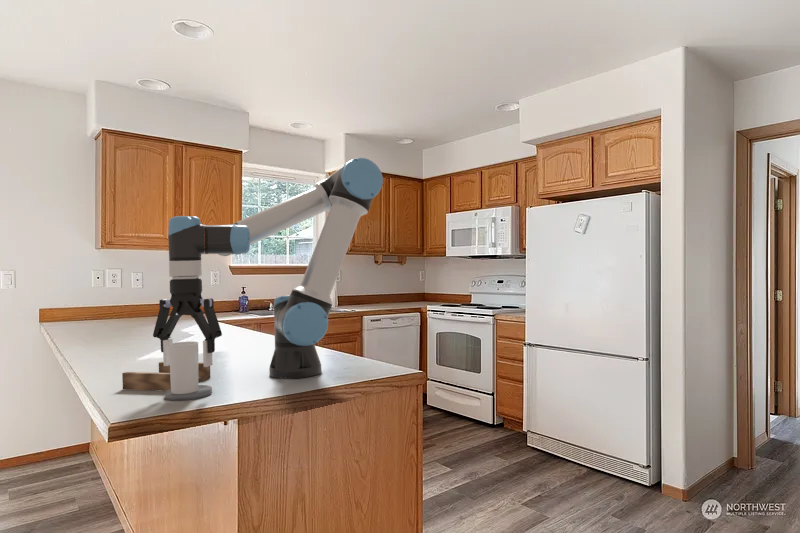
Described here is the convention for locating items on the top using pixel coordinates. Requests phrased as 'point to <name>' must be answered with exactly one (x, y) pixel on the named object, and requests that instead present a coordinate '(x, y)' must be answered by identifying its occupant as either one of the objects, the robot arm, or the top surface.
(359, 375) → the top surface
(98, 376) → the top surface
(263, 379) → the top surface
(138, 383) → the rack
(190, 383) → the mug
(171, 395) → the disc
